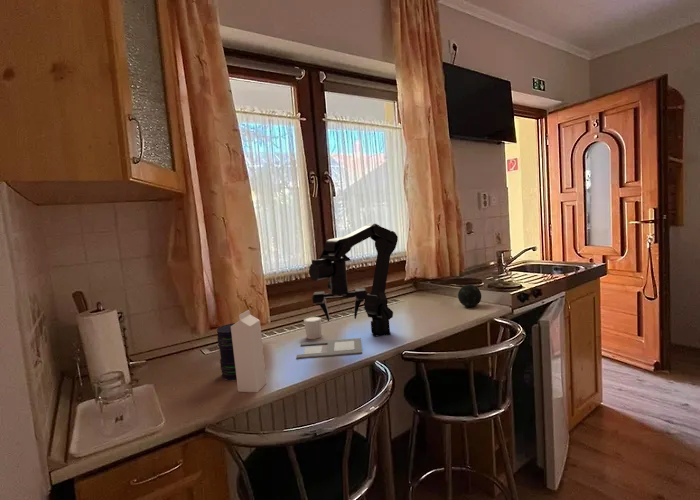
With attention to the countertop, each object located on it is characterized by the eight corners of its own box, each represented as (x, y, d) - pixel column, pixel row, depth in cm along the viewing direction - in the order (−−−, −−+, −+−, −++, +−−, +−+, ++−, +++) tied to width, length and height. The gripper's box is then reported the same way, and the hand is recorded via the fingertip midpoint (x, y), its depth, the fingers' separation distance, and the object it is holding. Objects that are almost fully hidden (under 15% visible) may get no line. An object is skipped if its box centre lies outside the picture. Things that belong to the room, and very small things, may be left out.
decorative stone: (454, 306, 188) (453, 284, 187) (473, 303, 191) (472, 281, 190) (466, 311, 179) (465, 288, 178) (486, 307, 182) (485, 285, 181)
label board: (360, 339, 153) (360, 337, 152) (362, 354, 138) (362, 351, 138) (301, 344, 153) (301, 342, 153) (296, 359, 138) (296, 357, 138)
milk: (238, 392, 116) (228, 315, 113) (248, 382, 122) (239, 309, 119) (257, 392, 114) (248, 314, 112) (267, 383, 120) (258, 309, 118)
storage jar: (223, 383, 122) (218, 334, 121) (219, 372, 131) (214, 326, 130) (257, 375, 126) (252, 327, 125) (251, 365, 135) (246, 320, 134)
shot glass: (325, 333, 163) (324, 316, 162) (318, 339, 156) (317, 321, 155) (309, 333, 165) (308, 316, 164) (302, 339, 158) (300, 321, 158)
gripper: (364, 269, 150) (367, 311, 152) (313, 273, 151) (317, 315, 152) (365, 274, 139) (369, 320, 141) (310, 279, 139) (314, 324, 141)
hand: (342, 319), depth 144 cm, fingers open, 9 cm apart
